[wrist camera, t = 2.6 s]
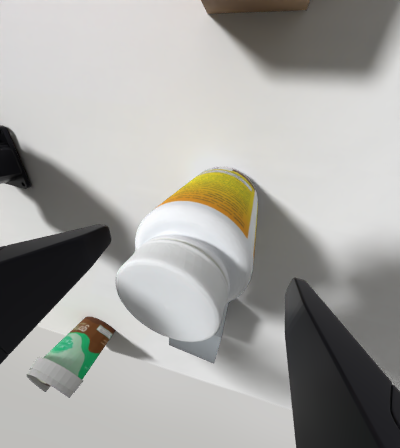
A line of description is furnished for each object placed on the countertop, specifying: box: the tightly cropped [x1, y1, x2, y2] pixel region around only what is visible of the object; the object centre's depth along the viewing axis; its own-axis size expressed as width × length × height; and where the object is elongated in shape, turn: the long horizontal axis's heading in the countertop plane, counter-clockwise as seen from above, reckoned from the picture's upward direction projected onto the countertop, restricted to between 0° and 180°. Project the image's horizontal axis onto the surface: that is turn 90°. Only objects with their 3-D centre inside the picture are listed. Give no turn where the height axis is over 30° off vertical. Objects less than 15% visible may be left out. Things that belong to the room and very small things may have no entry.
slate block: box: [169, 302, 229, 363], centre depth 19 cm, size 5×5×5 cm
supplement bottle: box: [116, 167, 258, 342], centre depth 10 cm, size 6×6×10 cm
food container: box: [27, 317, 115, 398], centre depth 31 cm, size 12×6×10 cm, turn 128°
